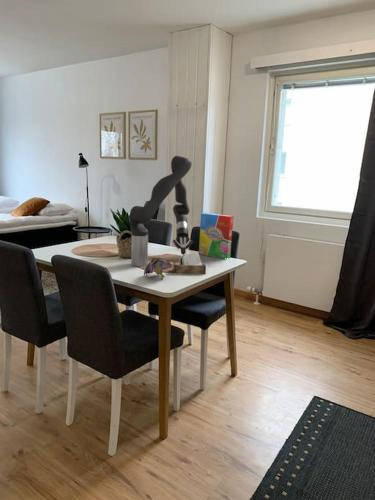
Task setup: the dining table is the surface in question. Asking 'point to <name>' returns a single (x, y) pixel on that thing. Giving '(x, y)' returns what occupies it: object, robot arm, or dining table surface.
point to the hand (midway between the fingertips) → (183, 253)
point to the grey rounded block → (190, 259)
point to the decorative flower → (157, 266)
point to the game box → (215, 235)
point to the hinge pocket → (189, 269)
